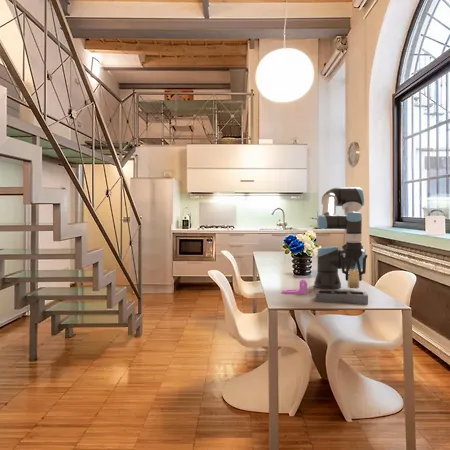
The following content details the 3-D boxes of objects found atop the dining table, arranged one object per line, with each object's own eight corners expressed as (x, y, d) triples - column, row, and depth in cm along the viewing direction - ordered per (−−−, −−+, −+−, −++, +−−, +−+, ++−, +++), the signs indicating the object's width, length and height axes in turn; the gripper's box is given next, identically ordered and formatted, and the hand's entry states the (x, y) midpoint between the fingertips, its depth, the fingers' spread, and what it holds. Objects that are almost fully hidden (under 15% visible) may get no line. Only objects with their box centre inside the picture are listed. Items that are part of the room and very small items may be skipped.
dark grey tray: (315, 297, 200) (315, 289, 200) (365, 299, 195) (365, 291, 195) (315, 301, 191) (315, 293, 191) (368, 304, 186) (368, 295, 186)
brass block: (348, 286, 206) (349, 269, 206) (356, 286, 205) (357, 269, 205) (349, 288, 202) (349, 270, 202) (357, 288, 201) (358, 271, 201)
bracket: (306, 292, 214) (306, 279, 214) (307, 294, 209) (307, 281, 209) (282, 291, 216) (282, 279, 216) (282, 293, 211) (282, 280, 210)
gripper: (336, 242, 201) (336, 287, 202) (372, 242, 197) (371, 289, 198) (336, 241, 208) (335, 285, 209) (370, 241, 204) (369, 286, 205)
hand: (353, 286), depth 204 cm, fingers closed on brass block, 4 cm apart
